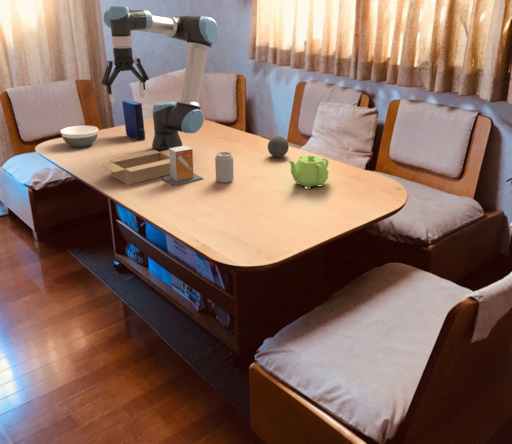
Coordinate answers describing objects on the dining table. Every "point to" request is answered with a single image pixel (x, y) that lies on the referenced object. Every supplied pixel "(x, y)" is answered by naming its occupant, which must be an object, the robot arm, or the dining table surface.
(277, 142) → the decorative ball
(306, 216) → the dining table surface
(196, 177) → the mat
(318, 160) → the teapot
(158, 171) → the carton
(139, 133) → the book
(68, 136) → the bowl
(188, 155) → the small box
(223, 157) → the can
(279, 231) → the dining table surface
